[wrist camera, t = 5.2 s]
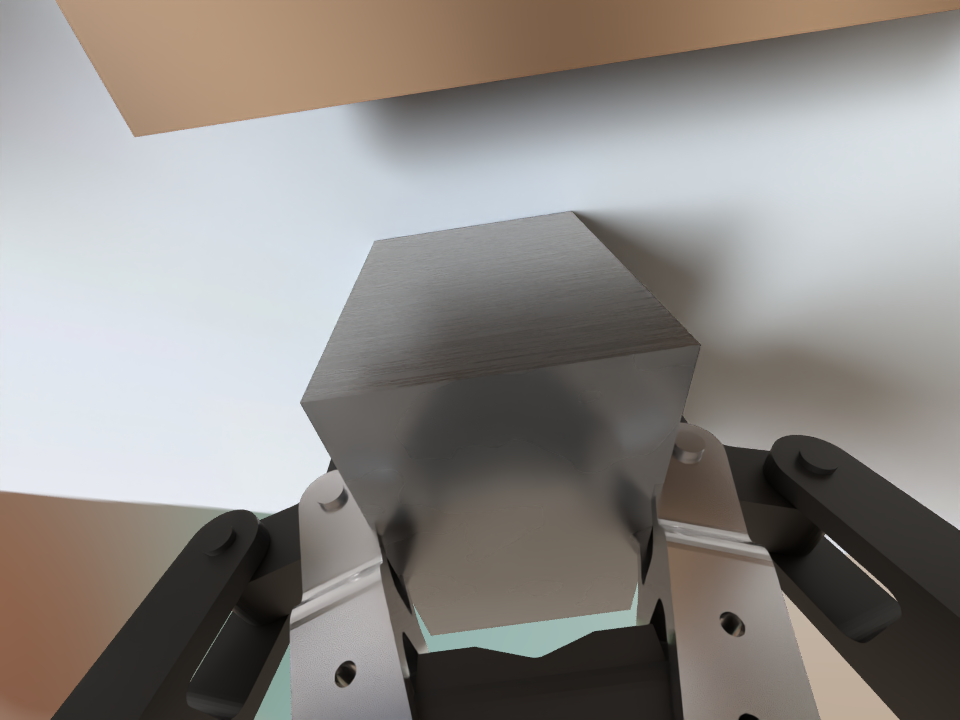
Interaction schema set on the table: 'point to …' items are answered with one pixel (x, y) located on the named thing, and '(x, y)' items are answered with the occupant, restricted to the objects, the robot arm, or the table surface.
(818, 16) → the stand
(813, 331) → the table surface
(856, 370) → the table surface
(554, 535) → the block
